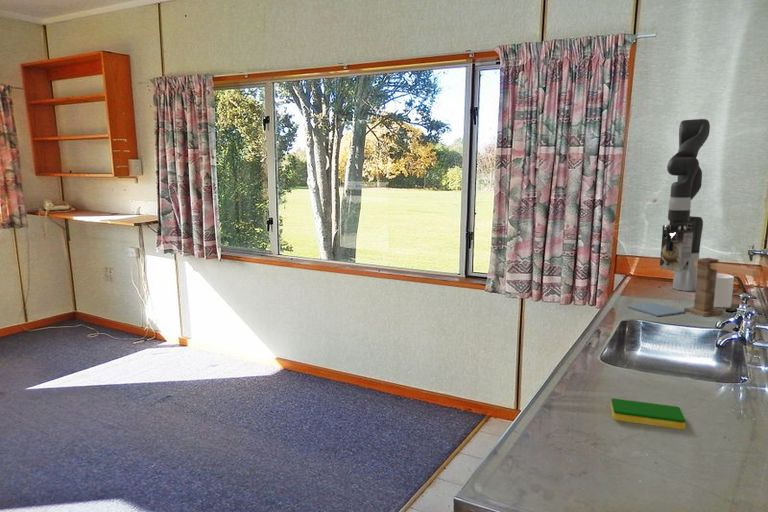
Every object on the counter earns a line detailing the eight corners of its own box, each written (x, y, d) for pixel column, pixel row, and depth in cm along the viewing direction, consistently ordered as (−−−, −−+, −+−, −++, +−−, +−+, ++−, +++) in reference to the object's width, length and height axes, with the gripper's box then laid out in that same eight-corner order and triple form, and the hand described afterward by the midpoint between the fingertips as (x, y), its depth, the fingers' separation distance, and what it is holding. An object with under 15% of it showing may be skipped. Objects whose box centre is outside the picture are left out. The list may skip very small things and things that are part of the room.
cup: (721, 301, 214) (724, 272, 212) (737, 308, 203) (740, 278, 201) (691, 300, 215) (694, 272, 213) (705, 307, 204) (708, 278, 202)
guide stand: (702, 308, 203) (707, 256, 199) (722, 313, 195) (727, 260, 192) (684, 311, 199) (689, 258, 196) (703, 316, 192) (708, 261, 188)
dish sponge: (610, 407, 120) (611, 397, 119) (678, 416, 115) (679, 406, 115) (613, 421, 113) (613, 410, 113) (684, 431, 108) (686, 420, 108)
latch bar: (699, 265, 199) (700, 260, 199) (758, 275, 179) (758, 269, 178) (694, 265, 198) (694, 260, 198) (752, 276, 178) (753, 270, 177)
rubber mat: (654, 304, 209) (654, 302, 209) (685, 312, 197) (685, 311, 196) (627, 307, 205) (627, 306, 204) (657, 316, 192) (657, 315, 192)
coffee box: (658, 268, 211) (661, 228, 208) (669, 266, 213) (672, 227, 211) (679, 272, 202) (683, 231, 200) (690, 270, 205) (694, 230, 202)
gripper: (674, 210, 198) (670, 253, 201) (701, 208, 203) (697, 250, 206) (657, 208, 205) (654, 250, 208) (684, 207, 210) (680, 247, 213)
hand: (675, 250), depth 207 cm, fingers closed on coffee box, 6 cm apart
